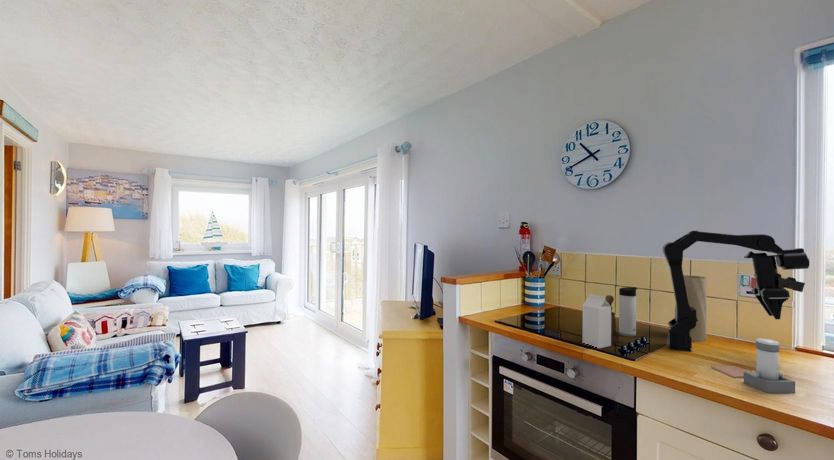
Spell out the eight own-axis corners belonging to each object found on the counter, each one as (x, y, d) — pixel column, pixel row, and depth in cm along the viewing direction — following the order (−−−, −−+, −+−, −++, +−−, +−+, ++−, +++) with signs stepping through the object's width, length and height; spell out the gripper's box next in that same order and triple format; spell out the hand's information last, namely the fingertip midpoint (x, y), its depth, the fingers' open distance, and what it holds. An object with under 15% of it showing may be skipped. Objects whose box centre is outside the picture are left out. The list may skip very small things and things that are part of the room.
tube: (671, 337, 150) (672, 276, 149) (680, 333, 156) (680, 274, 156) (701, 343, 142) (702, 279, 141) (709, 338, 148) (709, 277, 148)
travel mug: (639, 337, 149) (639, 288, 149) (621, 336, 151) (622, 288, 150) (633, 333, 155) (633, 286, 155) (616, 332, 157) (616, 285, 157)
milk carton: (598, 349, 135) (599, 297, 135) (582, 343, 141) (582, 294, 141) (611, 346, 138) (611, 296, 138) (594, 341, 144) (594, 293, 144)
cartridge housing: (742, 382, 106) (742, 367, 106) (770, 381, 106) (770, 367, 106) (766, 393, 99) (766, 377, 99) (796, 392, 99) (796, 377, 99)
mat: (711, 367, 117) (711, 366, 117) (735, 367, 117) (735, 365, 117) (734, 378, 109) (734, 376, 109) (759, 377, 109) (759, 376, 109)
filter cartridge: (750, 383, 105) (751, 338, 105) (766, 382, 105) (767, 338, 105) (767, 390, 100) (767, 343, 100) (784, 390, 101) (784, 343, 101)
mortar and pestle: (600, 341, 143) (600, 296, 143) (599, 337, 149) (599, 293, 149) (619, 344, 141) (620, 297, 141) (617, 339, 147) (617, 294, 147)
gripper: (807, 269, 112) (818, 321, 110) (791, 268, 127) (800, 314, 125) (759, 272, 118) (768, 321, 116) (748, 270, 133) (756, 314, 131)
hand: (774, 317), depth 122 cm, fingers open, 9 cm apart
